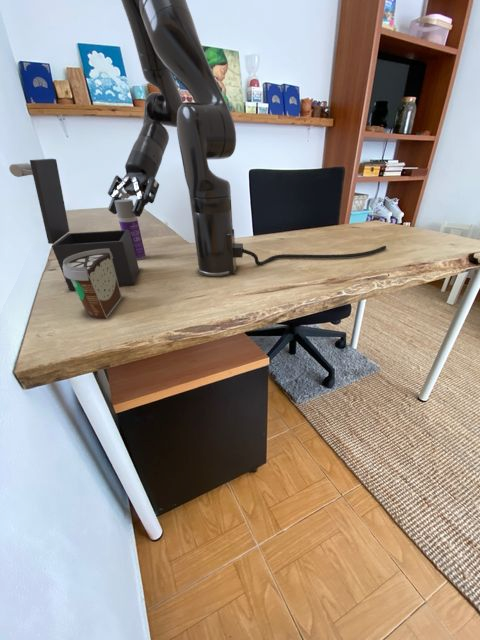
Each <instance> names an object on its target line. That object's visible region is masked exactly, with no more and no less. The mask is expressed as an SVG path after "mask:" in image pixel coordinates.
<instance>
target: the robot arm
mask: <svg viewBox="0 0 480 640" xmlns="http://www.w3.org/2000/svg"><path fill="white" fill-rule="evenodd" d="M120 1H121V4H122V7H123V10H124V12H125V15H126V18H127V21H128V24H129V27H130V30H131V33H132V37H133V41H134V44H135V49H136V52H137V56H138V61H139V64H140V67H141V71H142V75H143V78H144V79H145V81H146V82H147V83H149V84H150V85H152V86H154V87H155V88H157V89H158V90H159V92H157V91H153V92H150V93H149V94H148V95H146V98H145V100H144V109H143V121H142V127H141V130H139V131H140V132H139V133H138V136H137V139H136V140H135V141H134V143H133V145H132V147H131V150H130V153H129V155H128V157H127V160H126V162H125V165H124V168H125V175H124V176H123V177H120V176H119V174H118V175H115V176H114V178H113V180H112V183H111V185H110V187H109V188H108V190H107V195H108V196H109V197H110V198H111V200H110V203H109V205H108V211H109V212H110V213H111V214H112V215H117V210H116V206H115V202H114V201H115V200H122V199H130V197H133V196H134V197H137V198H136V200H135V203H134V204H133V205H134V207H133V210H132V213H133V214H134V215H136V216H137V218H140V217H141V215H142V214H143V213H144V212H143V211H144V209H145V206H147V205H148V204H149V203H150V204H154V203H155V199H156V196H157V193H158V191H159V187H160V183H159V182H158V181H157V179H156V177H157V174H158V173H159V172H158V171H159V169H160V166H161V165H162V161H163V156H164V154H165V151H166V149H167V147H168V144H169V140H170V135H169V131H168V130H167V128H166V127H171V128H176V132H177V133H176V134H177V140H178V141H177V142H178V146H179V152H180V158H181V162H182V168H183V174H184V180H185V183H186V186H187V189H188V197H189V203H190V211H191V220H192V227H193V228H192V229H193V233H194V241H195V242H194V243H195V249H196V257H197V265H198V273H199V274H200V275H202V276H206V277H223V276H224V277H225V276H228V275H235V272H236V270H237V258H238V259H239V258H240V259H242V258H243V255H244V254H246V255H248V256H251V257H252V258H253V260H254V263H255V264H256V265H257V266H263V265H265V264H267V263H270V262H272V261H274V260H278V259H346V258H356V257H363V256H368V255H373V254H376V253H379V252H382V251H384V250H386V249H387V245H382V246H380V247H378V248H375V249H371V250H366V251H362V252H356V253H343V254H296V253H295V254H291V253H290V254H286V253H285V254H284V253H283V254H275V255H272V256H270V257H267V258H266V259H265V260H263V261H260V260H259V257H258V255H257V254H256V253H255V252H253V251H251V250H248V249H245V248H244V243H237V242H236V239H235V237H236V236H235V229H234V228H233V227H234V226H233V210H232V209H233V208H232V195H231V184H230V181H228V180H227V179H225V178H222V177H221V176H217V175H216V174H215V173H214V172H213V171H212V170H211V169H210V167H209V163H208V160H210V161H211V160H223V159H228V158H230V157H231V156H232V155H233V154H234V153H235V150H236V146H237V131H236V125H235V123H234V119H233V116H232V113H231V110H230V108H229V106H228V104H227V102H226V99H225V97H224V95H223V93H222V90H221V89H220V86H219V84H218V83H217V80H216V78H215V75H214V73H213V71H212V69H211V66H210V64H209V61H208V58H207V56H206V53H205V51H204V48H203V45H202V43H201V40H200V37H199V35H198V32H197V28H196V26H195V22H194V19H193V16H192V13H191V11H190V8H189V5H188V2H187V0H120ZM174 78H175V79H176V80H177V81H178V82H179V83H180V84H181V85H182V86H183V87H184V88H185V89H186V90H187V92H188V93H189V94H190V96H191V97H192V99H193V101H186V102H185V101H183V98H182V95H181V93H180V90H179V89H178V86H177V84H176V83H177V82H176V81H175V79H174ZM165 126H166V127H165Z"/></svg>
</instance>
